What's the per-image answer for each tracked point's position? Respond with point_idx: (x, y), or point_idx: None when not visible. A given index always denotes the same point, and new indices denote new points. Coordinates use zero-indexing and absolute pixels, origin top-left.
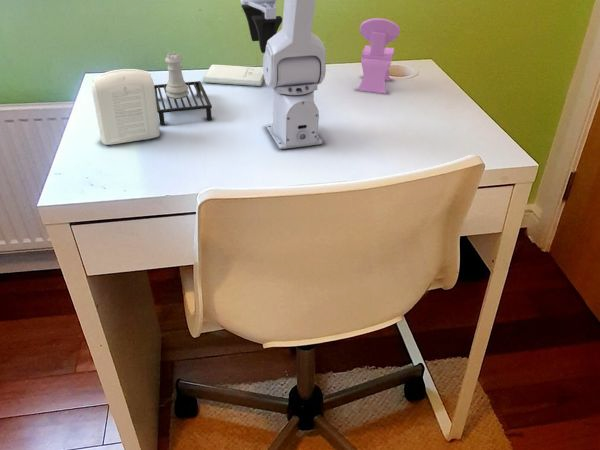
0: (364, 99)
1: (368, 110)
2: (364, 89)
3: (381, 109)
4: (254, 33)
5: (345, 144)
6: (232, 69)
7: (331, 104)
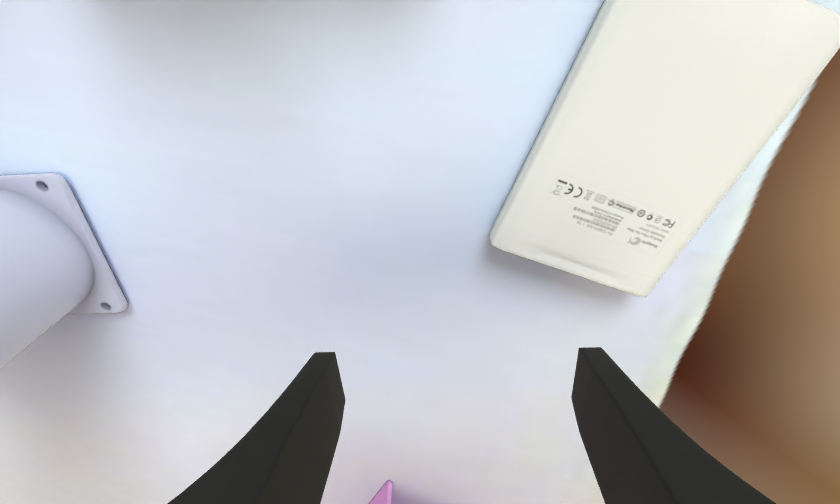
0: None
1: None
2: (380, 495)
3: None
4: (594, 402)
5: None
6: (694, 140)
7: None
